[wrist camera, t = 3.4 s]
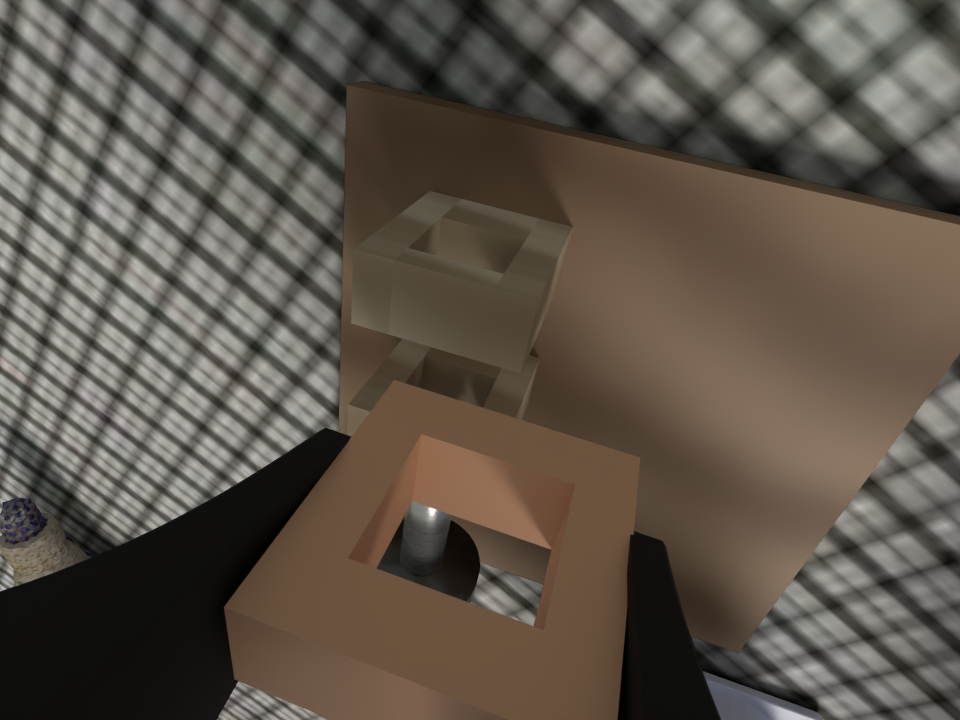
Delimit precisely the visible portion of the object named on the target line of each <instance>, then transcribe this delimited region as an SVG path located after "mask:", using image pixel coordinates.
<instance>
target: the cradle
mask: <svg viewBox="0 0 960 720" xmlns="http://www.w3.org/2000/svg"><path fill="white" fill-rule="evenodd" d="M959 354H960V216H957V215H952V214H948V213H944V212H939V211H935V210H930V209H926V208H921V207H917V206H913V205H908V204H904V203H899V202H895V201H891V200H886V199H882V198H877V197H873V196H868V195H864V194H860V193H855V192H851V191H846V190H842V189H837V188H833V187H829V186H824V185H820V184H815V183H811V182H807V181H802V180H798V179H793V178H789V177H784V176H780V175H776V174H771V173H767V172H762V171H758V170H754V169H749V168H745V167H740V166H736V165H731V164H727V163H723V162H718V161H714V160H709V159H705V158H700V157H696V156H692V155H687V154H683V153H678V152H674V151H670V150H665V149H661V148H656V147H652V146H647V145H643V144H639V143H634V142H630V141H625V140H621V139H616V138H612V137H608V136H603V135H599V134H594V133H590V132H586V131H581V130H577V129H572V128H568V127H563V126H559V125H555V124H550V123H546V122H541V121H537V120H533V119H528V118H524V117H519V116H515V115H510V114H506V113H502V112H497V111H493V110H488V109H484V108H479V107H475V106H471V105H466V104H462V103H457V102H453V101H449V100H444V99H440V98H435V97H431V96H426V95H422V94H418V93H413V92H409V91H404V90H400V89H396V88H391V87H387V86H382V85H378V84H373V83H369V82H365V81H361V82H357V83H353V84H349V85H347V101H346V143H345V185H344V227H343V269H342V311H341V353H340V395H339V433H342V434H345V435H348V436H351V437H352V436H353V434H354V433H355V432H356V430H357V429H358V428H359V426H360V425H361V424H362V422H363V421H364V420H365V418H366V417H367V416H368V414H369V413H370V412H371V410H372V409H373V408H374V406H375V405H376V404H377V402H378V401H379V400H380V398H381V397H382V396H383V394H384V393H385V392H386V390H387V389H388V388H389V386H390V385H391V384H392V382H393V381H394V380H396V381H399V382H403V383H406V384H409V385H412V386H415V387H418V388H422V389H425V390H428V391H431V392H434V393H437V394H441V395H444V396H447V397H450V398H453V399H456V400H460V401H463V402H466V403H469V404H472V405H475V406H479V407H482V408H485V409H488V410H491V411H494V412H498V413H501V414H504V415H507V416H510V417H513V418H517V419H520V420H523V421H526V422H529V423H532V424H536V425H539V426H542V427H545V428H548V429H551V430H555V431H558V432H561V433H564V434H567V435H570V436H574V437H577V438H580V439H583V440H586V441H589V442H593V443H596V444H599V445H602V446H605V447H608V448H612V449H615V450H618V451H621V452H624V453H627V454H631V455H634V456H637V457H640V466H639V478H638V489H637V501H636V512H635V524H634V531H635V532H638V533H641V534H644V535H647V536H650V537H653V538H656V539H659V540H662V541H663V542H664V544H665V546H666V548H667V553H668V557H669V562H670V566H671V570H672V574H673V578H674V582H675V585H676V589H677V593H678V596H679V600H680V603H681V606H682V610H683V613H684V617H685V620H686V623H687V626H688V629H689V632H690V635H691V637H694V638H697V639H699V640H702V641H705V642H708V643H711V644H714V645H717V646H719V647H722V648H725V649H728V650H731V651H734V652H736V653H739V651H740V650H741V649H742V647H743V646H744V645H745V643H746V642H747V640H748V639H749V638H750V636H751V635H752V634H753V632H754V631H755V630H756V628H757V627H758V626H759V624H760V623H761V622H762V620H763V619H764V617H765V616H766V615H767V613H768V612H769V611H770V609H771V608H772V607H773V605H774V604H775V603H776V601H777V600H778V599H779V597H780V596H781V594H782V593H783V592H784V590H785V589H786V588H787V586H788V585H789V584H790V582H791V581H792V580H793V578H794V577H795V576H796V574H797V573H798V571H799V570H800V569H801V567H802V566H803V565H804V563H805V562H806V561H807V559H808V558H809V557H810V555H811V554H812V553H813V551H814V550H815V548H816V547H817V546H818V544H819V543H820V542H821V540H822V539H823V538H824V536H825V535H826V534H827V532H828V531H829V530H830V528H831V527H832V526H833V524H834V523H835V521H836V520H837V519H838V517H839V516H840V515H841V513H842V512H843V511H844V509H845V508H846V507H847V505H848V504H849V503H850V501H851V500H852V498H853V497H854V496H855V494H856V493H857V492H858V490H859V489H860V488H861V486H862V485H863V484H864V482H865V481H866V480H867V478H868V477H869V475H870V474H871V473H872V471H873V470H874V469H875V467H876V466H877V465H878V463H879V462H880V461H881V459H882V458H883V457H884V455H885V454H886V452H887V451H888V450H889V448H890V447H891V446H892V444H893V443H894V442H895V440H896V439H897V438H898V436H899V435H900V434H901V432H902V431H903V429H904V428H905V427H906V425H907V424H908V423H909V421H910V420H911V419H912V417H913V416H914V415H915V413H916V412H917V411H918V409H919V408H920V406H921V405H922V404H923V402H924V401H925V400H926V398H927V397H928V396H929V394H930V393H931V392H932V390H933V389H934V388H935V386H936V385H937V383H938V382H939V381H940V379H941V378H942V377H943V375H944V374H945V373H946V371H947V370H948V369H949V367H950V366H951V365H952V363H953V362H954V360H955V359H956V358H957V356H958V355H959ZM451 520H452V521H454V522H456V523H457V524H458V525H460V526H461V527H462V528H463V529H465V530H466V532H467V533H468V534H469V535H470V536H471V538H472V539H473V541H474V543H475V545H476V547H477V550H478V552H479V557H480V562H481V563H484V564H487V565H489V566H492V567H495V568H498V569H501V570H504V571H506V572H509V573H512V574H515V575H518V576H521V577H523V578H526V579H529V580H532V581H535V582H538V583H540V584H543V585H544V580H545V576H546V572H547V567H548V563H549V559H550V555H551V549H548V548H545V547H542V546H539V545H537V544H534V543H531V542H528V541H525V540H522V539H519V538H516V537H513V536H511V535H508V534H505V533H502V532H499V531H496V530H493V529H490V528H488V527H485V526H482V525H479V524H476V523H473V522H470V521H467V520H465V519H462V518H459V517H456V516H453V515H451Z"/></svg>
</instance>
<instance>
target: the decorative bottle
mask: <svg viewBox="0 0 960 720" xmlns="http://www.w3.org/2000/svg"><path fill="white" fill-rule="evenodd" d="M2 504H3V509H2V511H1V514H0V532H1V533H2V536H1V537H0V550H1V552H2V553H3V555H4V557H5V558H6V560H7V561H8V563H9V564H10V565H11V567H12V568H13V569H14V584H15V586H18V585H21V584H23V583H26V582H29V581H32V580H35V579H38V578H40V577H43V576H46V575H49V574H52V573H54V572H57V571H59V570H62V569H64V568H67V567H69V566H72V565H74V564H77V563H79V562H82V561H84V560H87V559H89V558H91V557H94V555H93V554H91V553H88V552H85V551H83V550H81V549H80V548H79V547H78V546H76V544H75V543H74V541H73V540H72V539H71V538H69V537H66V535H65V532H64V530H63V529H62V527H61V525H60V523H59V521H58V520H57V519H55V518H53V517H52V516H50V515H48V514H41V513H40V511H39V509H38V508H37V506H36V505H35V503H33V502H31V499H25V498H16V499H12V500H10V501H6V502H2Z"/></svg>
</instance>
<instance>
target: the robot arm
mask: <svg viewBox="0 0 960 720" xmlns="http://www.w3.org/2000/svg"><path fill="white" fill-rule="evenodd" d="M350 438H351V436H348V435H345V434H342V433H339V432H336V431H334V430H331V429H328V428H325V429H323V430H321V431H319V432H317V433H316V434H314V435H313V436H311V437H310V438H308V439H307V440H305V441H304V442H302V443H301V444H299V445H298V446H296V447H295V448H293V449H292V450H290V451H289V452H287V453H286V454H284V455H282V456H281V457H279V458H278V459H276V460H275V461H273V462H272V463H270V464H269V465H267V466H265V467H264V468H262V469H261V470H259V471H257V472H256V473H254V474H252V475H251V476H249V477H248V478H246V479H244V480H243V481H241V482H239V483H238V484H236V485H234V486H233V487H231V488H229V489H228V490H226V491H224V492H223V493H221V494H219V495H217V496H216V497H214V498H212V499H210V500H208V501H207V502H205V503H203V504H201V505H199V506H198V507H196V508H194V509H192V510H190V511H189V512H187V513H185V514H183V515H181V516H179V517H177V518H175V519H173V520H172V521H170V522H168V523H166V524H164V525H162V526H160V527H158V528H156V529H154V530H152V531H150V532H147V533H145V534H143V535H141V536H139V537H137V538H135V539H133V540H130V541H128V542H126V543H124V544H122V545H119V546H117V547H115V548H112V549H110V550H108V551H105V552H103V553H101V554H98V555H96V556H94V557H91V558H89V559H87V560H84V561H82V562H79V563H77V564H74V565H72V566H69V567H67V568H64V569H62V570H59V571H57V572H54V573H52V574H49V575H46V576H43V577H40V578H38V579H35V580H32V581H29V582H26V583H23V584H21V585H18V586H15V587H12V588H9V589H6V590H4V591H1V592H0V720H217V718H218V716H219V714H220V712H221V711H222V709H223V707H224V705H225V704H226V702H227V700H228V698H229V697H230V695H231V693H232V691H233V689H234V688H235V686H236V684H237V682H238V681H237V680H235V679H234V672H233V665H232V659H231V652H230V645H229V638H228V632H227V625H226V618H225V611H224V606H225V605H226V604H227V602H228V601H229V600H230V598H231V597H232V596H233V594H234V593H235V592H236V590H237V589H238V588H239V586H240V585H241V584H242V582H243V581H244V580H245V578H246V577H247V576H248V574H249V573H250V572H251V570H252V569H253V568H254V566H255V565H256V564H257V562H258V561H259V560H260V558H261V557H262V556H263V554H264V553H265V552H266V550H267V549H268V548H269V546H270V545H271V544H272V542H273V541H274V540H275V538H276V537H277V536H278V534H279V533H280V532H281V530H282V529H283V528H284V526H285V525H286V524H287V522H288V521H289V520H290V518H291V517H292V516H293V514H294V513H295V512H296V510H297V509H298V508H299V506H300V505H301V504H302V502H303V501H304V500H305V498H306V497H307V496H308V494H309V493H310V492H311V490H312V489H313V488H314V486H315V485H316V484H317V482H318V481H319V480H320V478H321V477H322V476H323V474H324V473H325V472H326V470H327V469H328V468H329V467H330V465H331V464H332V463H333V461H334V460H335V459H336V457H337V456H338V455H339V453H340V452H341V451H342V449H343V448H344V447H345V445H346V444H347V443H348V441H349V440H350ZM617 720H822V717H821V716H820V715H819V714H818V713H817V712H815V711H812V710H810V709H807V708H804V707H801V706H799V705H796V704H793V703H790V702H787V701H785V700H782V699H779V698H776V697H774V696H771V695H768V694H765V693H762V692H760V691H757V690H754V689H751V688H749V687H746V686H743V685H740V684H737V683H735V682H732V681H729V680H726V679H724V678H721V677H718V676H715V675H713V674H710V673H707V672H704V671H702V668H701V665H700V662H699V659H698V656H697V653H696V650H695V647H694V644H693V641H692V638H691V635H690V632H689V629H688V626H687V623H686V620H685V617H684V613H683V610H682V606H681V603H680V600H679V596H678V593H677V589H676V585H675V582H674V578H673V574H672V570H671V566H670V562H669V557H668V553H667V548H666V546H665V544H664V542H663V541H662V540H659V539H656V538H653V537H650V536H647V535H644V534H641V533H638V532H635V531H634V535H632V534H630V545H629V555H628V566H627V616H626V627H625V639H624V650H623V662H622V673H621V685H620V696H619V708H618V719H617Z"/></svg>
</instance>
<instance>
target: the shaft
mask: <svg viewBox="0 0 960 720" xmlns="http://www.w3.org/2000/svg"><path fill="white" fill-rule="evenodd" d="M376 569H379V570H382V571H384V572H387V573H390V574H393V575H395V576H398V577H401V578H403V579H406V580H409V581H412V582H414V583H417V584H420V585H422V586H425V587H428V588H431V589H433V590H436V591H439V592H441V593H444V594H447V595H449V596H452V597H455V598H458V599H460V600H463V601H466V602H468V603H470V601H471V599H472V597H473V595H474V591H475V588H476V583H477V579H478V575H479V571H480V557H479V552H478V550H477V547H476V545H475V543H474V541H473V539H472V538H471V536H470V535H469V534H468V533H467V532H466V530H465V529H463V528H462V527H461V526H460V525H458V524H457V523H456V522H454V521H452V520H451V515H450V514H447V513H444V512H441V511H439V510H436V509H433V508H430V507H427V506H424V505H421V504H418V503H416V502H413V501H412V502H411V504H410V506H409V508H408V510H407V512H406V514H405V516H404V517H403V519H402V521H401V523H400V525H399V527H398V529H397V531H396V532H395V534H394V536H393V538H392V540H391V542H390V544H389V546H388V547H387V549H386V551H385V553H384V555H383V557H382V559H381V561H380V562H379V564H378V566H377V568H376Z"/></svg>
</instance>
